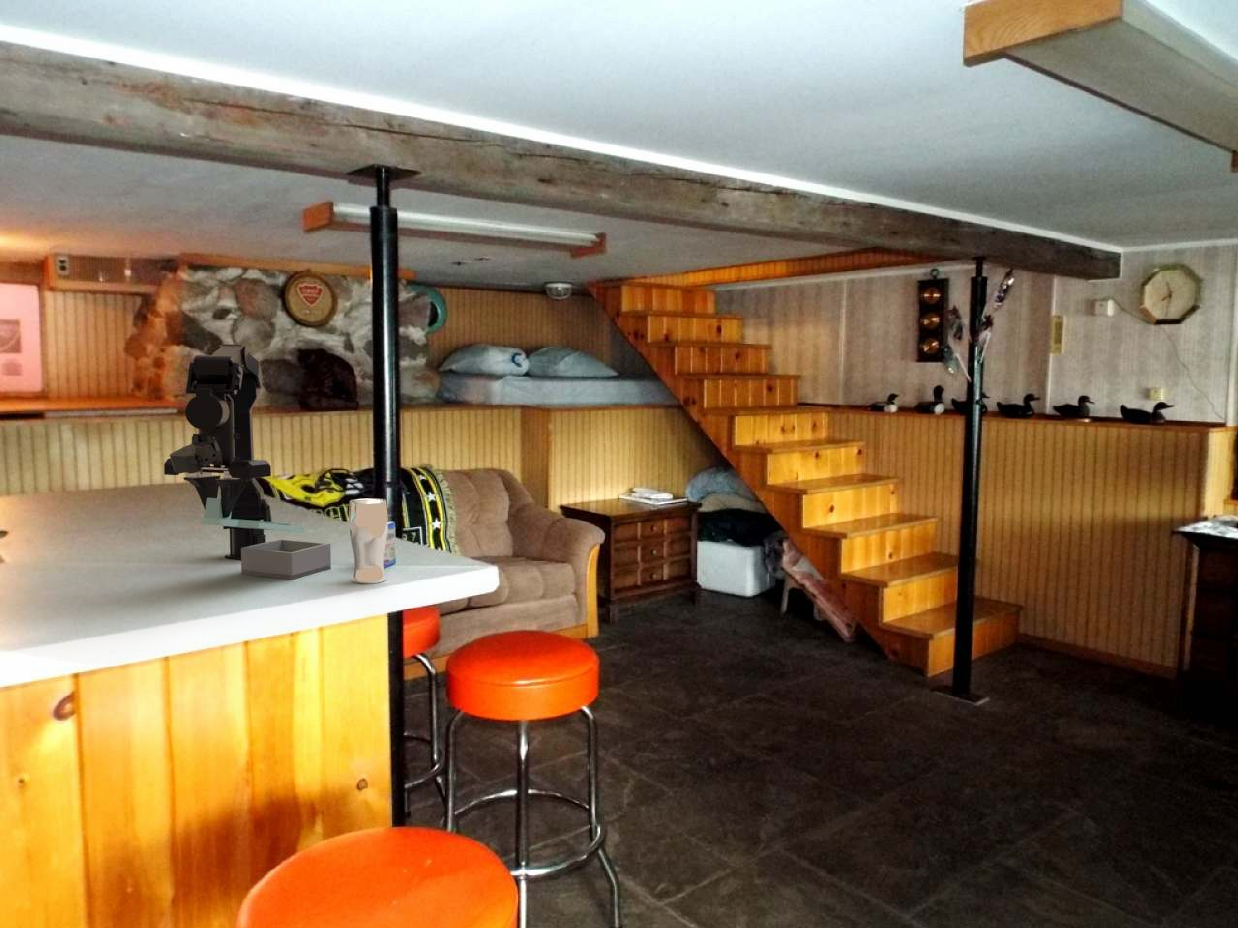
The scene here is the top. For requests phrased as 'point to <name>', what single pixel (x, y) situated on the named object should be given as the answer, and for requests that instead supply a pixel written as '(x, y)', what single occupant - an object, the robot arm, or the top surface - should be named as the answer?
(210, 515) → the lid
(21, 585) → the top surface
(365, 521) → the beer glass
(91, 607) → the top surface
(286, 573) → the tub
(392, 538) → the medicine box
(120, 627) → the top surface
